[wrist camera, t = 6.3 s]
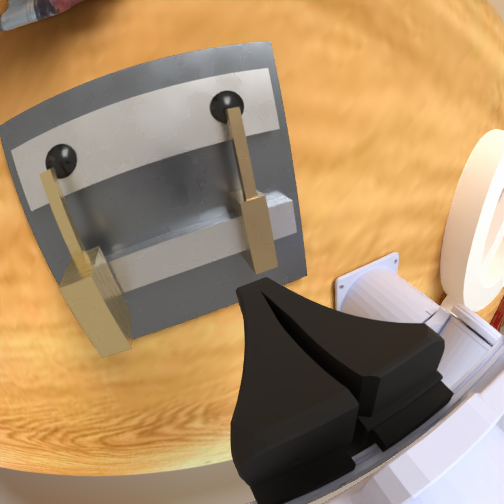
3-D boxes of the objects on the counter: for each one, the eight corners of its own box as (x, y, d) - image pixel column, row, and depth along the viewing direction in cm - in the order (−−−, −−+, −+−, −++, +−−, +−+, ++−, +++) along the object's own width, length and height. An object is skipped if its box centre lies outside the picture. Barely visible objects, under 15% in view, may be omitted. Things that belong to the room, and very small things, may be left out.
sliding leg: (130, 310, 18) (131, 348, 15) (105, 319, 18) (102, 357, 15) (67, 160, 13) (48, 171, 10) (38, 173, 13) (13, 188, 10)
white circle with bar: (521, 129, 31) (542, 135, 27) (501, 264, 45) (517, 274, 41) (447, 130, 25) (482, 138, 21) (422, 324, 39) (443, 342, 35)
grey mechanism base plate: (302, 270, 25) (322, 290, 22) (99, 343, 21) (97, 371, 18) (265, 43, 16) (287, 32, 13) (3, 126, 12) (-20, 129, 10)
